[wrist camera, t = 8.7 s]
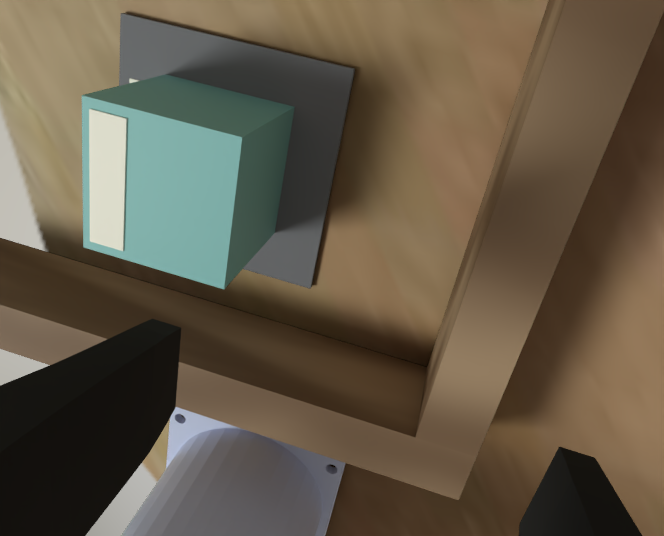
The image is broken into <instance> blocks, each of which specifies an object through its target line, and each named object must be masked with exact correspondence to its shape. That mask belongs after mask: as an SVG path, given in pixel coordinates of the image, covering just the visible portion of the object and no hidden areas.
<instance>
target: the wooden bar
mask: <svg viewBox="0 0 664 536" xmlns="http://www.w3.org/2000/svg"><path fill="white" fill-rule="evenodd" d="M150 319H156V320H159V321H162V322H165V323H168V324H171V325H175V326H178V327H181V340H180V354H179V367H178V380H177V393H176V407H178V408H181V409H184V410H187V411H190V412H193V413H196V414H199V415H202V416H205V417H208V418H211V419H214V420H217V421H220V422H223V423H226V424H229V425H232V426H235V427H238V428H241V429H244V430H248V431H251V432H254V433H257V434H260V435H263V436H266V437H269V438H272V439H275V440H278V441H281V442H284V443H287V444H290V445H293V446H296V447H299V448H302V449H305V450H308V451H311V452H314V453H317V454H320V455H323V456H326V457H329V458H332V459H335V460H338V461H341V462H344V463H347V464H350V465H353V466H356V467H359V468H362V469H365V470H368V471H371V472H374V473H377V474H380V475H383V476H386V477H389V478H392V479H395V480H398V481H402V482H405V483H408V484H411V485H414V486H417V487H420V488H423V489H426V490H429V491H432V492H435V493H438V494H441V495H444V496H447V497H450V498H453V499H456V500H459V498H460V496H461V493H462V491H463V489H464V486H465V484H466V481H467V479H468V477H469V474H470V472H471V470H472V467H473V465H474V462H475V460H476V458H477V457H475V456H471V455H468V454H465V453H462V452H459V451H456V450H453V449H450V448H446V447H443V446H440V445H437V444H434V443H431V442H428V441H425V440H421V439H418V438H415V437H416V431H417V425H418V419H419V413H420V407H421V401H422V395H423V388H424V382H425V376H426V370H427V367H424V366H421V365H418V364H414V363H411V362H408V361H404V360H401V359H398V358H395V357H391V356H388V355H385V354H381V353H378V352H375V351H372V350H368V349H365V348H362V347H358V346H355V345H352V344H348V343H345V342H342V341H339V340H335V339H332V338H329V337H325V336H322V335H319V334H315V333H312V332H309V331H306V330H302V329H299V328H296V327H292V326H289V325H286V324H283V323H279V322H276V321H273V320H269V319H266V318H263V317H259V316H256V315H253V314H250V313H246V312H243V311H240V310H236V309H233V308H230V307H226V306H223V305H220V304H217V303H213V302H210V301H207V300H203V299H200V298H197V297H194V296H190V295H187V294H184V293H180V292H177V291H174V290H170V289H167V288H164V287H161V286H157V285H154V284H151V283H147V282H144V281H141V280H138V279H134V278H131V277H128V276H124V275H121V274H118V273H114V272H111V271H108V270H105V269H101V268H98V267H95V266H91V265H88V264H85V263H81V262H78V261H75V260H72V259H68V258H65V257H62V256H58V255H55V254H52V253H49V252H45V251H42V250H39V249H35V248H32V247H29V246H25V245H22V244H19V243H15V242H12V241H9V240H6V239H2V238H0V349H3V350H6V351H9V352H12V353H15V354H18V355H21V356H24V357H27V358H30V359H33V360H36V361H39V362H42V363H45V364H48V365H52V364H55V363H57V362H59V361H61V360H63V359H66V358H68V357H70V356H72V355H74V354H77V353H79V352H81V351H83V350H85V349H88V348H90V347H92V346H94V345H96V344H98V343H101V342H103V341H105V340H107V339H109V338H111V337H113V336H115V335H117V334H120V333H122V332H124V331H126V330H128V329H130V328H132V327H135V326H137V325H139V324H141V323H143V322H146V321H148V320H150Z"/></svg>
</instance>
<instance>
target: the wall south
mask: <svg viewBox="0 0 664 536" xmlns="http://www.w3.org/2000/svg"><path fill="white" fill-rule="evenodd" d="M663 12H664V0H549V2H548V5H547V8H546V11H545V14H544V17H543V20H542V23H541V26H540V29H539V32H538V35H537V38H536V41H535V44H534V47H533V50H532V53H531V56H530V59H529V62H528V65H527V68H526V71H525V74H524V77H523V80H522V83H521V86H520V89H519V92H518V95H517V98H516V101H515V104H514V107H513V110H512V113H511V116H510V119H509V122H508V125H507V128H506V131H505V134H504V137H503V140H502V143H501V146H500V149H499V152H498V155H497V158H496V161H495V164H494V167H493V170H492V173H491V176H490V179H489V182H488V185H487V188H486V191H485V194H484V197H483V200H482V203H481V206H480V209H479V212H478V215H477V218H476V221H475V224H474V227H473V230H472V233H471V237H470V240H469V243H468V246H467V249H466V252H465V255H464V258H463V261H462V264H461V267H460V270H459V273H458V276H457V279H456V282H455V285H454V288H453V291H452V294H451V297H450V300H449V303H448V306H447V309H446V312H445V315H444V318H443V321H442V324H441V327H440V330H439V333H438V336H437V339H436V342H435V345H434V348H433V351H432V354H431V357H430V360H429V363H428V366H427V370H426V376H425V382H424V388H423V395H422V401H421V407H420V413H419V419H418V425H417V431H416V437H415V438H418V439H421V440H425V441H428V442H431V443H434V444H437V445H440V446H443V447H446V448H450V449H453V450H456V451H459V452H462V453H465V454H468V455H471V456H475V457H477V455H478V453H479V450H480V448H481V446H482V443H483V441H484V439H485V436H486V434H487V431H488V429H489V427H490V424H491V422H492V420H493V417H494V415H495V412H496V410H497V408H498V405H499V403H500V400H501V398H502V396H503V393H504V391H505V389H506V386H507V384H508V381H509V379H510V377H511V374H512V372H513V369H514V367H515V365H516V362H517V360H518V358H519V355H520V353H521V350H522V348H523V346H524V343H525V341H526V339H527V336H528V334H529V331H530V329H531V327H532V324H533V322H534V319H535V317H536V315H537V312H538V310H539V308H540V305H541V303H542V300H543V298H544V296H545V293H546V291H547V289H548V286H549V284H550V281H551V279H552V277H553V274H554V272H555V269H556V267H557V265H558V262H559V260H560V258H561V255H562V253H563V250H564V248H565V246H566V243H567V241H568V238H569V236H570V234H571V231H572V229H573V227H574V224H575V222H576V219H577V217H578V215H579V212H580V210H581V208H582V205H583V203H584V200H585V198H586V196H587V193H588V191H589V188H590V186H591V184H592V181H593V179H594V177H595V174H596V172H597V169H598V167H599V165H600V162H601V160H602V158H603V155H604V153H605V150H606V148H607V146H608V143H609V141H610V138H611V136H612V134H613V131H614V129H615V127H616V124H617V122H618V119H619V117H620V115H621V112H622V110H623V107H624V105H625V103H626V100H627V98H628V96H629V93H630V91H631V88H632V86H633V84H634V81H635V79H636V77H637V74H638V72H639V69H640V67H641V65H642V62H643V60H644V57H645V55H646V53H647V50H648V48H649V46H650V43H651V41H652V38H653V36H654V34H655V31H656V29H657V27H658V24H659V22H660V19H661V17H662V15H663Z"/></svg>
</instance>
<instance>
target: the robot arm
mask: <svg viewBox="0 0 664 536" xmlns="http://www.w3.org/2000/svg"><path fill="white" fill-rule="evenodd" d="M180 340H181V327H178V326H175V325H171V324H168V323H165V322H162V321H159V320H156V319H150V320H148V321H146V322H143V323H141V324H139V325H137V326H135V327H132V328H130V329H128V330H126V331H124V332H122V333H120V334H117V335H115V336H113V337H111V338H109V339H107V340H105V341H103V342H101V343H98V344H96V345H94V346H92V347H90V348H88V349H85V350H83V351H81V352H79V353H77V354H74V355H72V356H70V357H68V358H66V359H63V360H61V361H59V362H57V363H55V364H52V365H50V366H48V367H45V368H43V369H40V370H38V371H35V372H33V373H31V374H28V375H25V376H23V377H21V378H18V379H16V380H13V381H11V382H8V383H6V384H3V385H1V386H0V536H85V535H86V534H87V533H88V531H89V530H90V528H91V527H92V526H93V525H94V524H95V522H96V521H97V520H98V518H99V517H100V516H101V515H102V513H103V512H104V510H105V509H106V508H107V507H108V506H109V504H110V503H111V502H112V500H113V499H114V498H115V497H116V495H117V494H118V493H119V491H120V490H121V489H122V488H123V486H124V485H125V484H126V482H127V481H128V480H129V478H130V477H131V476H132V475H133V473H134V472H135V471H136V469H137V468H138V466H139V465H140V464H141V463H142V461H143V460H144V459H145V457H146V456H147V455H148V453H149V452H150V450H151V449H152V447H153V445H154V444H155V442H156V441H157V439H158V437H159V436H160V434H161V432H162V431H163V429H164V427H165V425H166V424H167V422H168V420H169V418H170V425H169V438H168V451H167V463H166V470H165V472H164V473H163V475H162V476H161V478H160V479H159V480H158V482H157V483H156V485H155V487H154V488H153V489H152V491H151V492H150V494H149V495H148V497H147V498H146V500H145V501H144V503H143V504H142V506H141V507H140V508H139V510H138V511H137V513H136V514H135V516H134V518H133V519H132V520H131V522H130V523H129V525H128V526H127V528H126V529H125V531H124V532H123V533H122V535H121V536H326V532H327V528H328V525H329V521H330V518H331V514H332V510H333V507H334V503H335V500H336V496H337V492H338V489H339V485H340V482H341V478H342V474H343V471H344V467H345V463H344V462H341V461H338V460H335V459H332V458H329V457H326V456H323V455H320V454H317V453H314V452H311V451H308V450H305V449H302V448H299V447H296V446H293V445H290V444H287V443H284V442H281V441H278V440H275V439H272V438H269V437H266V436H263V435H260V434H257V433H254V432H251V431H248V430H244V429H241V428H238V427H235V426H232V425H229V424H226V423H223V422H220V421H217V420H214V419H211V418H208V417H205V416H202V415H199V414H196V413H193V412H190V411H187V410H184V409H181V408H178V407H176V393H177V380H178V367H179V354H180ZM180 414H181V415H183V416H184V417H185V418H184V417H182V416H181V415H180ZM329 464H331V465H334V466H336V467H332V466H330V465H329ZM519 536H642V535H641V533H640V531H639V530H638V528H637V526H636V525H635V523H634V522H633V520H632V518H631V517H630V515H629V513H628V512H627V510H626V508H625V507H624V505H623V503H622V502H621V500H620V498H619V497H618V495H617V493H616V492H615V490H614V488H613V487H612V485H611V483H610V482H609V480H608V478H607V477H606V475H605V473H604V472H603V470H602V469H601V467H600V465H599V464H598V462H597V461H596V459H595V458H594V457H590V456H587V455H584V454H581V453H578V452H575V451H571V450H568V449H565V448H562V447H559V448H558V450H557V452H556V454H555V456H554V458H553V460H552V462H551V464H550V466H549V468H548V470H547V472H546V474H545V476H544V477H543V479H542V481H541V483H540V485H539V487H538V489H537V491H536V493H535V495H534V497H533V499H532V501H531V503H530V505H529V507H528V509H527V510H526V512H525V514H524V516H523V518H522V520H521V522H520V528H519Z"/></svg>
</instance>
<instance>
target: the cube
mask: <svg viewBox="0 0 664 536" xmlns="http://www.w3.org/2000/svg"><path fill="white" fill-rule="evenodd" d="M294 108H295V107H293V106H289V105H285V104H281V103H277V102H273V101H269V100H265V99H261V98H257V97H253V96H249V95H246V94H242V93H238V92H234V91H230V90H226V89H222V88H218V87H214V86H210V85H206V84H202V83H198V82H194V81H190V80H186V79H182V78H178V77H174V76H170V75H166V74H165V75H161V76H157V77H153V78H149V79H145V80H141V81H137V82H133V83H129V84H125V85H121V86H117V87H113V88H109V89H105V90H101V91H97V92H93V93H89V94H85V95H82V163H83V247H84V248H87V249H91V250H94V251H97V252H101V253H104V254H107V255H111V256H114V257H117V258H121V259H124V260H127V261H131V262H134V263H137V264H141V265H144V266H147V267H151V268H154V269H157V270H161V271H164V272H167V273H171V274H174V275H177V276H181V277H184V278H187V279H191V280H194V281H197V282H201V283H204V284H207V285H211V286H214V287H217V288H221V289H225V288H226V287H227V286H228V284H229V283H230V282H231V281H232V280H233V279H234V278H235V277H236V276H237V274H238V273H239V272H240V271H241V270H242V269H243V268H244V267H245V265H246V264H247V263H248V262H249V261H250V260H251V259H252V258H253V257H254V255H255V254H256V253H257V252H258V251H259V250H260V249H261V248H262V247H263V245H264V244H265V243H266V242H267V241H268V240H269V239H270V238H271V236H272V235H273V234H274V233H275V228H276V222H277V215H278V209H279V203H280V196H281V190H282V184H283V177H284V171H285V165H286V159H287V152H288V146H289V140H290V133H291V127H292V121H293V114H294Z"/></svg>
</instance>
